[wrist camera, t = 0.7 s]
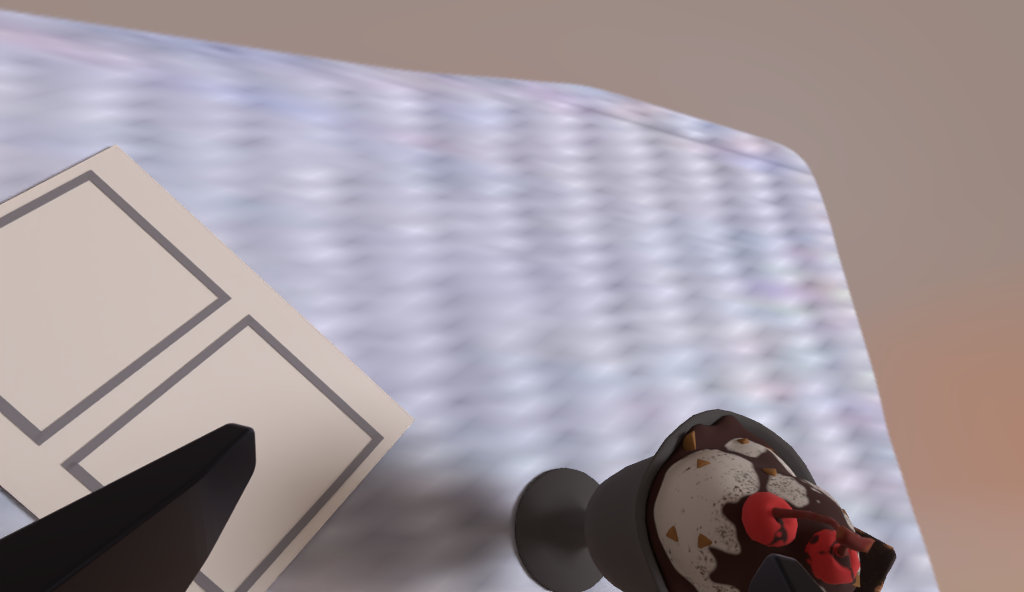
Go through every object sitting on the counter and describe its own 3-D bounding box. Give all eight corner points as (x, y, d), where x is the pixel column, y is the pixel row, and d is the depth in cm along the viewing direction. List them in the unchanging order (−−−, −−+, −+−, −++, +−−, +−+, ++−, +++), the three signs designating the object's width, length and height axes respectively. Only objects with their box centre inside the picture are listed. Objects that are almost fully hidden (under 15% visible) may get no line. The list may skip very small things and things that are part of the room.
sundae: (463, 507, 22) (743, 486, 9) (579, 421, 26) (899, 321, 13) (549, 658, 21) (979, 857, 9) (657, 548, 25) (1077, 576, 12)
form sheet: (204, 660, 17) (203, 662, 17) (-198, 311, 16) (-204, 309, 16) (413, 420, 23) (415, 419, 22) (117, 147, 22) (115, 143, 22)
